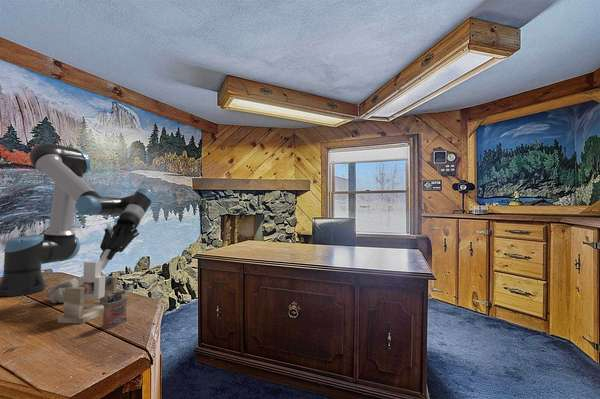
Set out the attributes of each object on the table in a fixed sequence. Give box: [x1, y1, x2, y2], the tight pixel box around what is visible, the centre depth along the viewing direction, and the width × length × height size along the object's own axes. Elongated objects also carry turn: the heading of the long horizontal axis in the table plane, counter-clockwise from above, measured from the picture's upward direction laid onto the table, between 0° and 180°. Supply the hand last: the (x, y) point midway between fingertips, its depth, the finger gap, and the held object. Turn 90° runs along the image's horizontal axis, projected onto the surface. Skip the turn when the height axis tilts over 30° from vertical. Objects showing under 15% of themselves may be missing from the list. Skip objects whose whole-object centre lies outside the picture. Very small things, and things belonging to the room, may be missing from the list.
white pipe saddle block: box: [78, 260, 106, 300], centre depth 100 cm, size 3×7×12 cm, turn 88°
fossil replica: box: [45, 277, 79, 304], centre depth 113 cm, size 12×8×10 cm
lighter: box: [101, 289, 128, 330], centre depth 90 cm, size 8×3×10 cm, turn 168°
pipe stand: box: [57, 275, 118, 324], centre depth 100 cm, size 18×8×11 cm, turn 178°
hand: (100, 266), depth 103 cm, fingers closed
